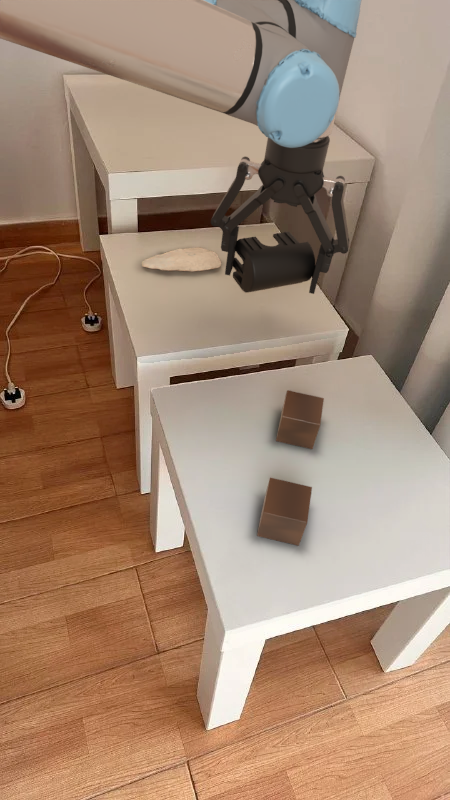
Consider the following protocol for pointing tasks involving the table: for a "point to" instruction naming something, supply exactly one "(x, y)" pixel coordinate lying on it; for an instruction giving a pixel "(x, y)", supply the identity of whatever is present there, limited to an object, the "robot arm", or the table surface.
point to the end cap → (272, 263)
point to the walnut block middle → (300, 419)
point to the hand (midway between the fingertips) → (270, 279)
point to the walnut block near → (285, 511)
